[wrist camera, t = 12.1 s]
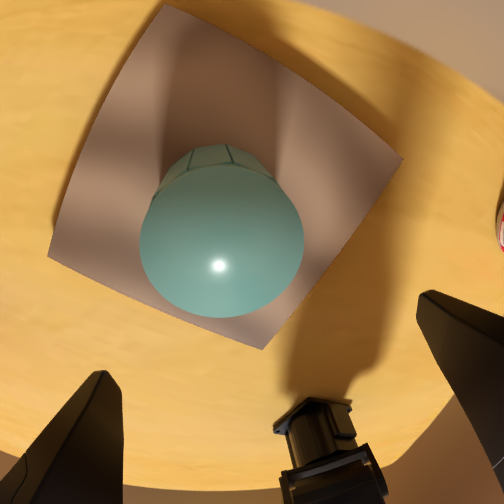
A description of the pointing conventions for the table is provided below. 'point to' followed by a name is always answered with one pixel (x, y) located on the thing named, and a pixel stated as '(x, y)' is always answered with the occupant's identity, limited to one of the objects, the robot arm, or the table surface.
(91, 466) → the robot arm
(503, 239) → the soda can
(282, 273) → the cap
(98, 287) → the table surface
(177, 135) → the post base
